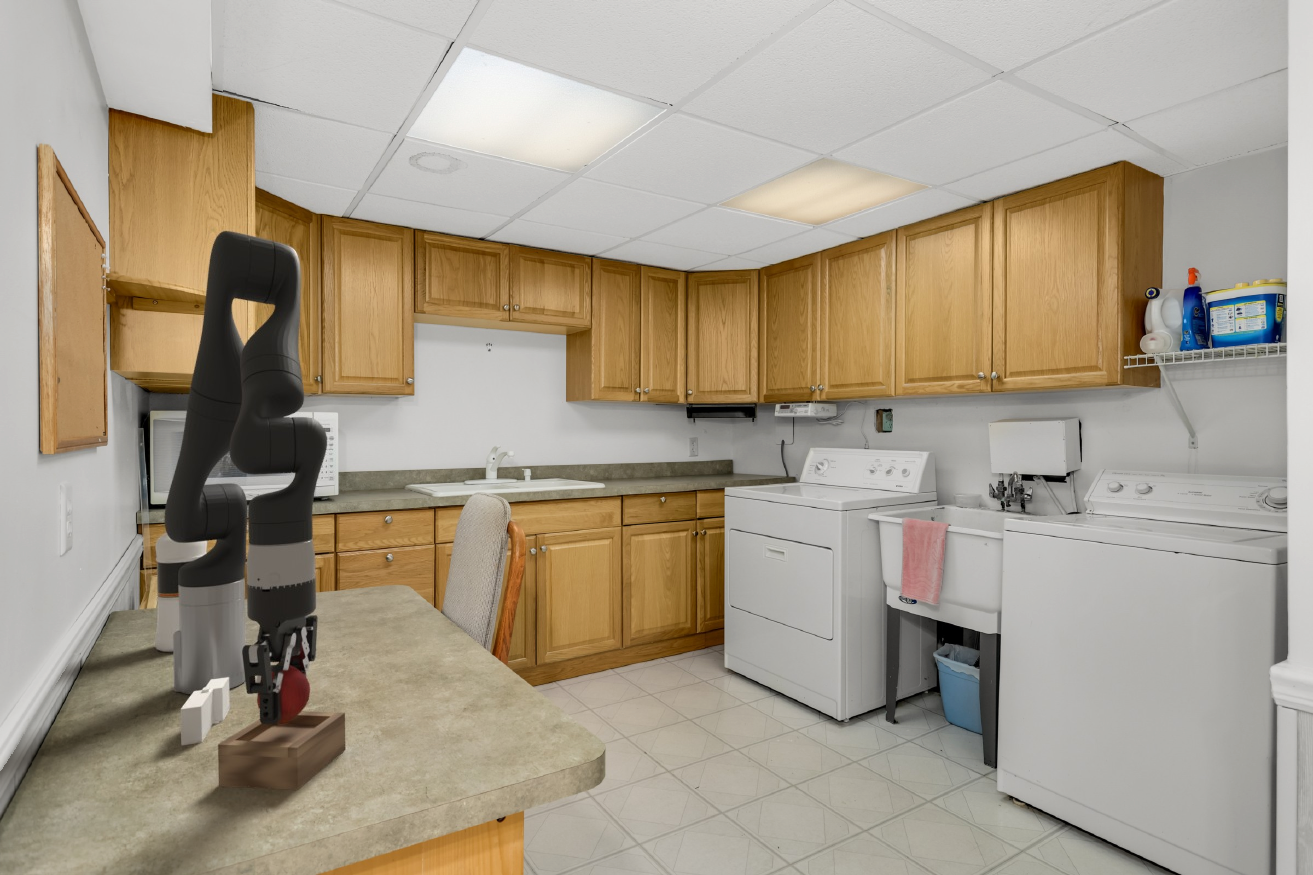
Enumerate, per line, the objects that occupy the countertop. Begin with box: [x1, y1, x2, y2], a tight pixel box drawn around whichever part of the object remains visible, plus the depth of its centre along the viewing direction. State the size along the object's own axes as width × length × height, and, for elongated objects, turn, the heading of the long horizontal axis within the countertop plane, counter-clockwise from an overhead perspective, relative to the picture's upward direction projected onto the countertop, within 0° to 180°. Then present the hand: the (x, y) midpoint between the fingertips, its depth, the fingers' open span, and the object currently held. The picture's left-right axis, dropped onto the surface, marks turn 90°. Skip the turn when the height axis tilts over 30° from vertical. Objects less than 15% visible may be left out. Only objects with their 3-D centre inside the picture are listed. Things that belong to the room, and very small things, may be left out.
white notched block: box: [180, 677, 231, 746], centre depth 99 cm, size 15×11×6 cm
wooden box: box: [217, 710, 346, 791], centre depth 86 cm, size 10×10×5 cm
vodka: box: [154, 532, 208, 653], centre depth 135 cm, size 9×9×30 cm
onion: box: [256, 662, 311, 725], centre depth 86 cm, size 6×6×8 cm
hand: (284, 711), depth 86 cm, fingers closed on onion, 5 cm apart
